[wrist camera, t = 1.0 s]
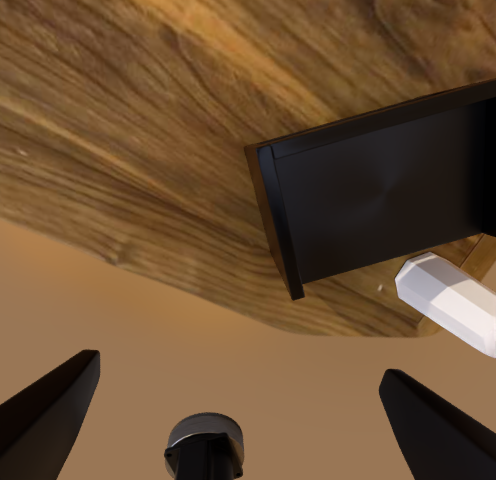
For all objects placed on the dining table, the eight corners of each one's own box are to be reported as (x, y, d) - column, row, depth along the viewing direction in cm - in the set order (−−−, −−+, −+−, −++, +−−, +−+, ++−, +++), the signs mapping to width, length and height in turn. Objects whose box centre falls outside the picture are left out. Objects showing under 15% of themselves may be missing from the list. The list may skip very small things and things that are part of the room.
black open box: (429, 209, 24) (517, 237, 17) (271, 254, 24) (292, 301, 17) (424, 95, 21) (531, 69, 14) (243, 146, 21) (255, 147, 14)
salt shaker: (456, 251, 25) (620, 325, 15) (440, 303, 27) (577, 402, 17) (400, 251, 25) (530, 327, 14) (387, 304, 26) (496, 407, 16)
